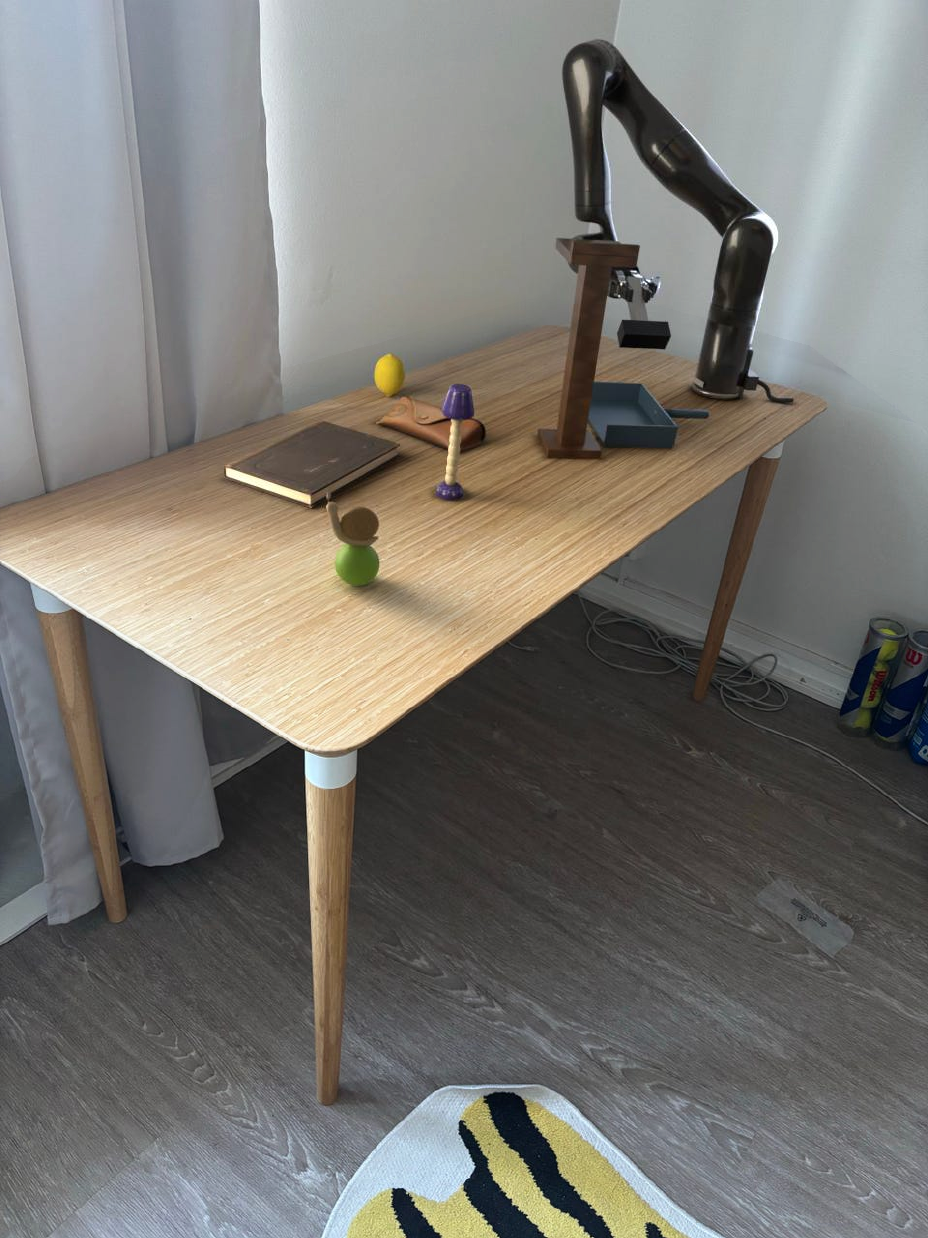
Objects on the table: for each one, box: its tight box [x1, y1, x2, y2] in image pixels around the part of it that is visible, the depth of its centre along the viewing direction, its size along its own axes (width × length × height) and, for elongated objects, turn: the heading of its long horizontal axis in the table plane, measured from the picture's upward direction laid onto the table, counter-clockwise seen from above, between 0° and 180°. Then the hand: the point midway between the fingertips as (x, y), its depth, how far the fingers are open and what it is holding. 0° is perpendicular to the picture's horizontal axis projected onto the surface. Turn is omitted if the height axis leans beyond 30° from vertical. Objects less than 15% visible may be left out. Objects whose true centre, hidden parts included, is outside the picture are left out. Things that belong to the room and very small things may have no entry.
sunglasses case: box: [375, 393, 487, 452], centre depth 156 cm, size 18×7×7 cm
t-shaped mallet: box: [616, 277, 672, 350], centre depth 157 cm, size 14×8×3 cm, turn 7°
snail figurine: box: [325, 492, 380, 587], centre depth 111 cm, size 5×6×12 cm
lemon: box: [373, 352, 406, 398], centre depth 168 cm, size 6×6×8 cm
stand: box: [536, 237, 641, 460], centre depth 147 cm, size 10×11×34 cm
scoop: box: [588, 381, 711, 449], centre depth 167 cm, size 22×22×4 cm
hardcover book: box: [223, 419, 401, 509], centre depth 141 cm, size 16×23×2 cm
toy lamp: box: [435, 383, 475, 501], centre depth 133 cm, size 5×5×17 cm
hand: (639, 296), depth 157 cm, fingers closed on t-shaped mallet, 2 cm apart
